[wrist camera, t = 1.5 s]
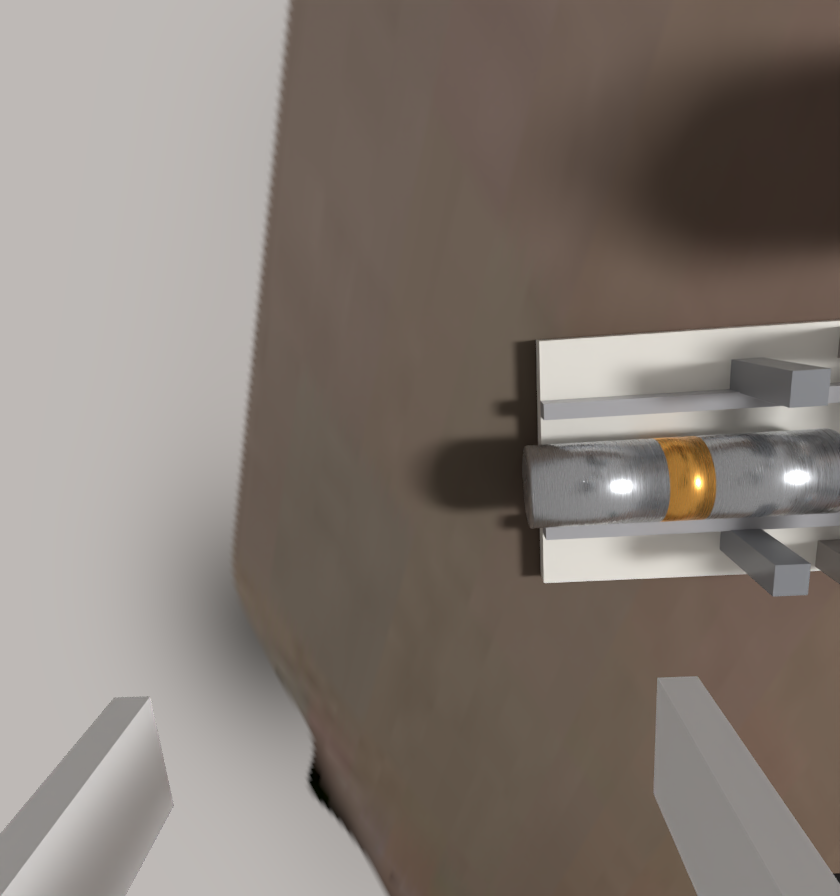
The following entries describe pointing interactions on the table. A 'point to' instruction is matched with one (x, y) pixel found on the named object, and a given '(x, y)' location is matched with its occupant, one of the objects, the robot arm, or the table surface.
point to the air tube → (682, 478)
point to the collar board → (692, 414)
